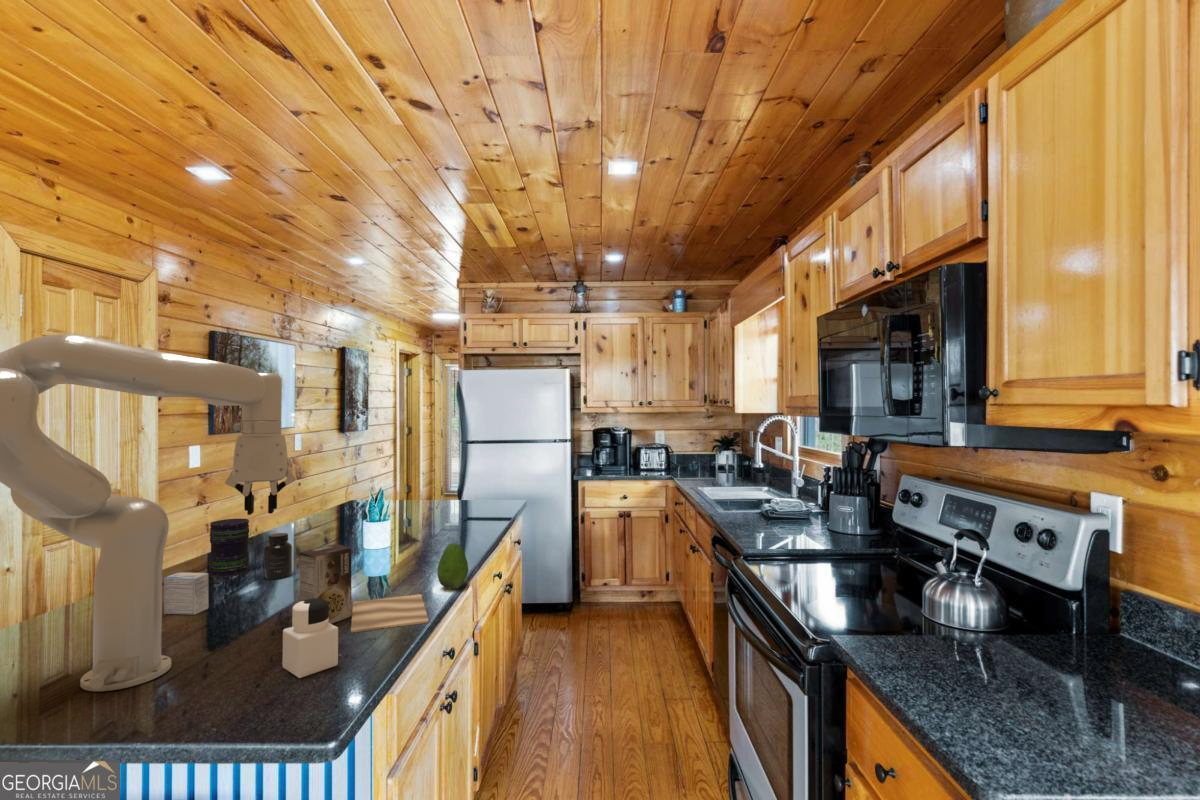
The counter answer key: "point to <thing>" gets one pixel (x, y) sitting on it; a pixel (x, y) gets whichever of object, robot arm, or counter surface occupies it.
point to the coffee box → (328, 579)
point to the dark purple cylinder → (229, 547)
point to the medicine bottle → (310, 639)
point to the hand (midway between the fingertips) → (260, 512)
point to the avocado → (452, 567)
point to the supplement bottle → (278, 557)
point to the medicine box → (186, 593)
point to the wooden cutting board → (388, 613)
